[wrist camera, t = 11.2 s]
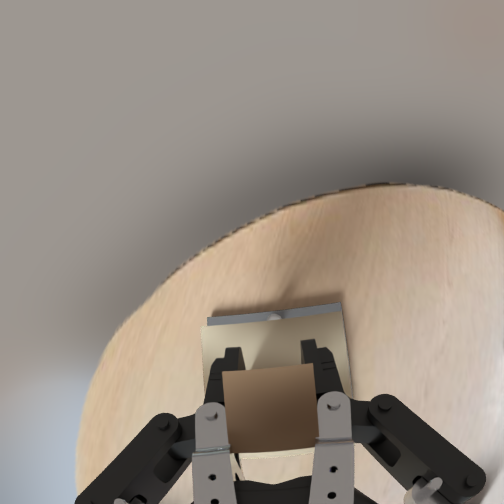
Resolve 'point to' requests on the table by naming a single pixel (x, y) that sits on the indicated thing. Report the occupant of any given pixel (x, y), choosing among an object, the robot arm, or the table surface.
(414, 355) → the table surface
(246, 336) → the handled board
